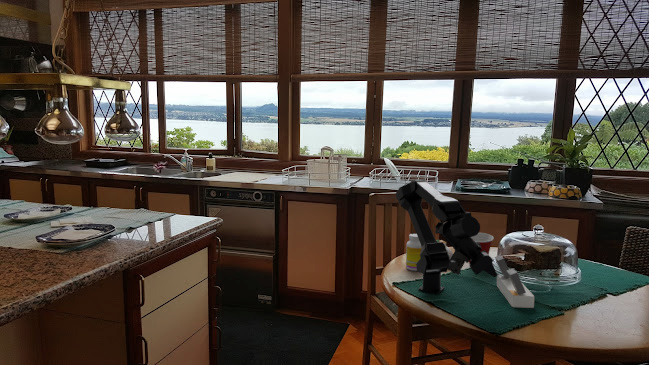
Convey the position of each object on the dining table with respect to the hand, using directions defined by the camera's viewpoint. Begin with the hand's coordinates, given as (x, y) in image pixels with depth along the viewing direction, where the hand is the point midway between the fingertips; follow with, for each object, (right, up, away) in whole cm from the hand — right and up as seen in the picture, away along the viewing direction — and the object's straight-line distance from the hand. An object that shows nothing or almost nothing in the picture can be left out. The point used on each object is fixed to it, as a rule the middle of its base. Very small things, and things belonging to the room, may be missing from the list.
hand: (495, 276), depth 132 cm
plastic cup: (+7, -4, +37) cm, 38 cm away
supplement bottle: (-17, -5, +35) cm, 39 cm away
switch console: (+8, -8, +7) cm, 13 cm away
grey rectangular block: (+7, -5, 0) cm, 9 cm away
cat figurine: (-7, -4, +44) cm, 45 cm away
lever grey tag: (+9, -3, +14) cm, 17 cm away
